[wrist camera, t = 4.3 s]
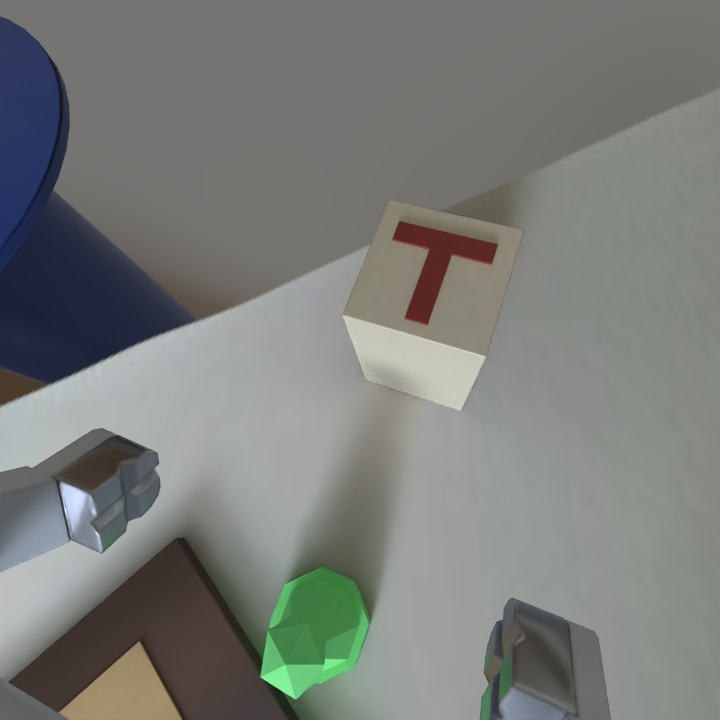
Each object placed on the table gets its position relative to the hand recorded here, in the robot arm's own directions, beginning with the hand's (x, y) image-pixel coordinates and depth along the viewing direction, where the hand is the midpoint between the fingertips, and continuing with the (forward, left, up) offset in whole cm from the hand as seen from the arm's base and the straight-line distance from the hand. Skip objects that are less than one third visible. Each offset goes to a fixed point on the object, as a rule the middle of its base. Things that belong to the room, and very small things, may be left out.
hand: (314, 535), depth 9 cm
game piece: (+2, -4, -12) cm, 13 cm away
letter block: (-4, +8, -12) cm, 15 cm away
